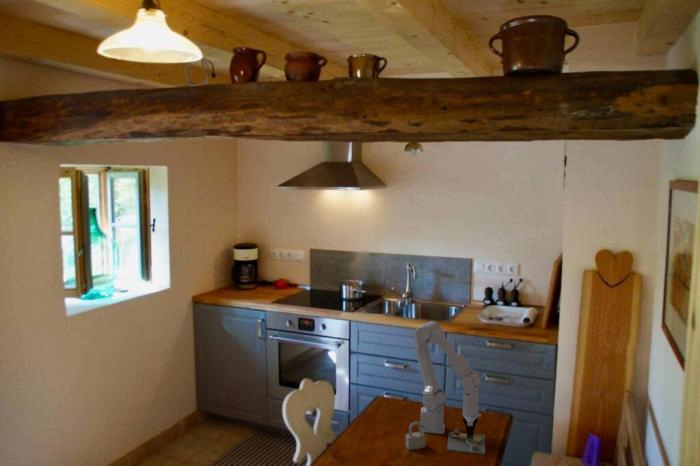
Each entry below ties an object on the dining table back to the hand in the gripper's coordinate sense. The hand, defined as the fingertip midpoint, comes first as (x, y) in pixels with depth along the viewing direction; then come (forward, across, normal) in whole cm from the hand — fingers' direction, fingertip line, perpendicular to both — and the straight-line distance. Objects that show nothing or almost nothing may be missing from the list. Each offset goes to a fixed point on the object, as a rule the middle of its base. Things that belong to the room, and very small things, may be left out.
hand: (470, 435), depth 224 cm
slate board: (+2, -4, +1) cm, 4 cm away
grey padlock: (+2, -11, +20) cm, 23 cm away
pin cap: (-1, 0, +5) cm, 5 cm away
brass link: (+1, -1, +1) cm, 2 cm away
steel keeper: (+1, -8, 0) cm, 8 cm away
